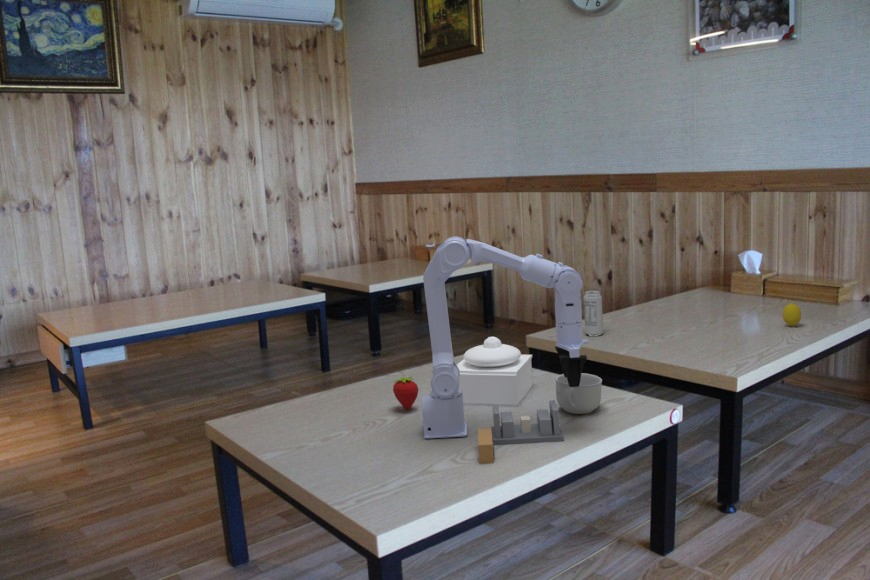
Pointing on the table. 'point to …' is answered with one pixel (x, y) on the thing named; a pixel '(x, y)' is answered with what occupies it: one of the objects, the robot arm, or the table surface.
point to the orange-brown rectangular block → (486, 446)
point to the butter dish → (495, 374)
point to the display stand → (527, 427)
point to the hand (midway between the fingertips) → (571, 381)
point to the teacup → (579, 394)
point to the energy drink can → (593, 313)
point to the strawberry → (405, 391)
